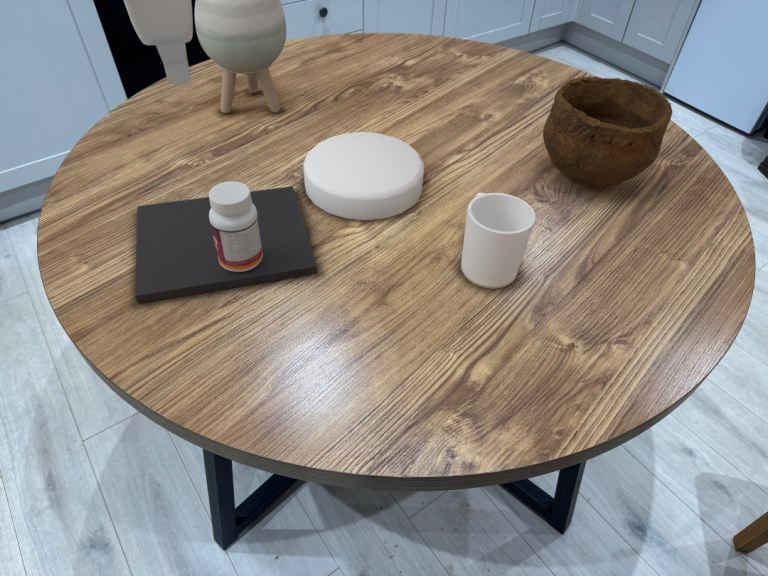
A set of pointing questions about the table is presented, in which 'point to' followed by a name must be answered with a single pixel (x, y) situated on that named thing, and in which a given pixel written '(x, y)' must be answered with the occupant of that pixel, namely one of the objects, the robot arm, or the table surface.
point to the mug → (495, 238)
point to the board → (198, 252)
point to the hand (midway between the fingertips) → (178, 56)
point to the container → (363, 176)
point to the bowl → (605, 130)
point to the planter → (242, 43)
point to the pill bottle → (235, 226)
